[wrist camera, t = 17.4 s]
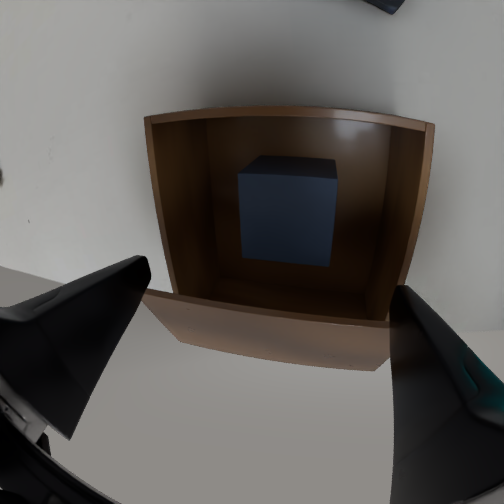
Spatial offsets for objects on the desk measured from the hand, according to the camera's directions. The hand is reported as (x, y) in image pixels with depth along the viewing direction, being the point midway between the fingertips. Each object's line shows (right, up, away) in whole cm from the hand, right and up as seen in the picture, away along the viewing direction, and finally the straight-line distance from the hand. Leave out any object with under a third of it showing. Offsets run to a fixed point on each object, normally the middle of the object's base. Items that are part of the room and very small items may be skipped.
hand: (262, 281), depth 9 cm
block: (+2, +5, +7) cm, 9 cm away
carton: (+2, +4, +8) cm, 10 cm away
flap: (+1, -3, +3) cm, 5 cm away
